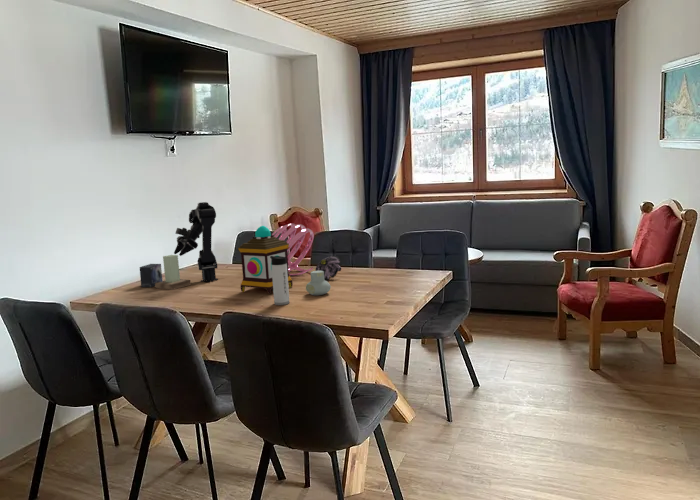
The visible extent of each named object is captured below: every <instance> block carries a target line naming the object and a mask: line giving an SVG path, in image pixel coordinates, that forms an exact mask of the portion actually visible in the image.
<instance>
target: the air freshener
mask: <svg viewBox="0 0 700 500" xmlns="http://www.w3.org/2000/svg"><path fill="white" fill-rule="evenodd" d="M331 288H332V287H331V284H330V283H329V281H325V280H324V272H323V271H315V270H313V271H312V270H311V271H310V281H309V282H307V284H306V285H305V290H306V292H307V293H308V294H309V295H311V296H323V295H326V294H327V293H329V292H330V290H331Z"/></svg>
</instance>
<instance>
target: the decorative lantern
mask: <svg viewBox="0 0 700 500" xmlns="http://www.w3.org/2000/svg"><path fill="white" fill-rule="evenodd" d="M254 235H255V236H252V238H250V239H249V240H248V241H246V242H243V243H242V244H241V245H240V246H239V247H237V248H238V251H239V252H240V257H241V269H242V271H241V272H242V280H241V283H240V292H241V293H244V292H245V289H246V288H256V289H264V290H266V292H267V295H269V296H270V295H271V293H272V289H273V279H272V265H271V263H272V262H271V258H270V256H282V257H286V262H287V274H288V288H292V287H293V284H294V283H293V279H292V278H291V277H292V276H289V274H290V272H289V269H288V267H289V266H288V253H287V249H288V246H289V244H288V243H287V242H286V240H279V238H278V237H277V238H276V237H274V236H275V234H274V235H272V233H271V230H270V228H268V227H267V226H265V225H261V226H259V227H258V228H256V230H255V234H254Z"/></svg>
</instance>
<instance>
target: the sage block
mask: <svg viewBox="0 0 700 500" xmlns="http://www.w3.org/2000/svg"><path fill="white" fill-rule="evenodd" d="M162 260H163V261H162V263H163V269H164V281H166V282H170V283H173V282H177V281H180V279H181V277H180V276H181V275H180V265H179V254H169V255H163V256H162Z"/></svg>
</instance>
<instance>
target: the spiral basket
mask: <svg viewBox="0 0 700 500" xmlns="http://www.w3.org/2000/svg"><path fill="white" fill-rule="evenodd" d="M288 227H290V228H288ZM287 228H288V229H287ZM298 228H301V230H300V231H298V232H297V229H298ZM296 232H297V233H296ZM307 233H309V239H308V241H307V244H306V245H305V247H304V249H303V251H302V252H300V255H299V256H298V257H297V258H296V260H295V261H293V262H292V261H291V259H292V258H293V257H294V255H296V253H297V252H298V250H300V247H301V246H302V244H303V242H304V240H305V237H306V234H307ZM271 235H274V237H276V238H277V239H279V240H284V241H285V242H287V243H288V244H289V246H288V249H287V255H288V269H289V276H290V277H295V276H296V277H297V276H301V275H303V274H305V273H308V272H312V270H313V269H314V267H311V268H307V269H305V268H301V267H300V266H298V265H299V264H300V263H301V262H302V260H303V259H304V258H305V256H307V253H308V252H309V251H310V248H311V246H312V244H313V241H314V238H315V236H314V231H313V230H312V229H310V228H306V226H305V225H304V224H300V223H298V224H295V223H288V224H285V225H282V226H279V227H278V228H277V229H275V230H274V232H272V233H271ZM279 235H280V236H279ZM278 237H279V238H278ZM292 247H293V248H292ZM289 251H290V252H289ZM293 270H294V271H298V273H290V272H291V271H293Z"/></svg>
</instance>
